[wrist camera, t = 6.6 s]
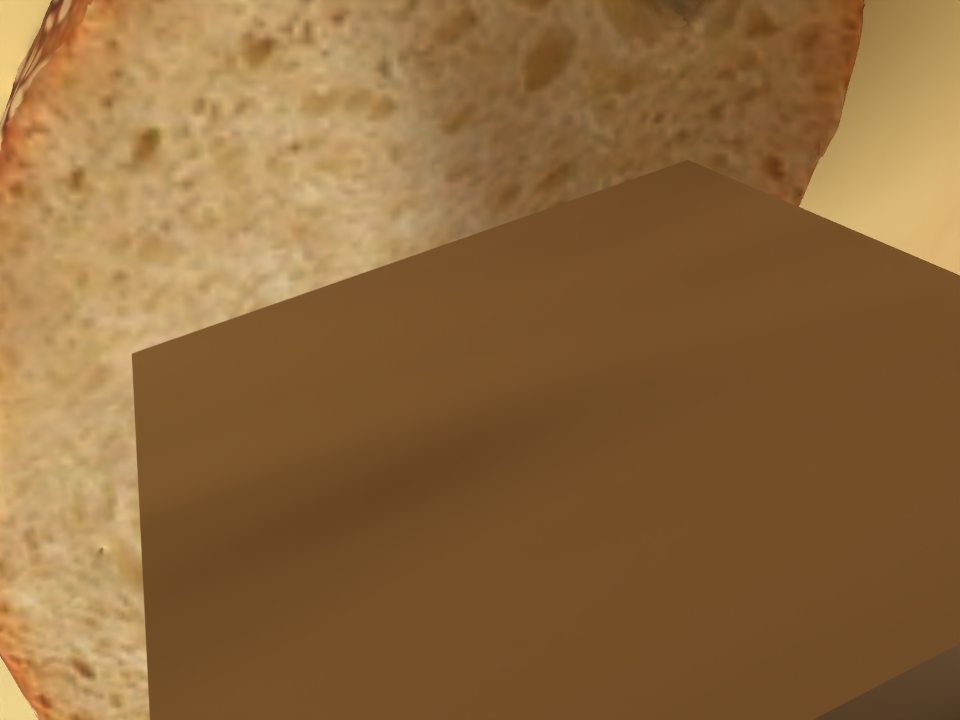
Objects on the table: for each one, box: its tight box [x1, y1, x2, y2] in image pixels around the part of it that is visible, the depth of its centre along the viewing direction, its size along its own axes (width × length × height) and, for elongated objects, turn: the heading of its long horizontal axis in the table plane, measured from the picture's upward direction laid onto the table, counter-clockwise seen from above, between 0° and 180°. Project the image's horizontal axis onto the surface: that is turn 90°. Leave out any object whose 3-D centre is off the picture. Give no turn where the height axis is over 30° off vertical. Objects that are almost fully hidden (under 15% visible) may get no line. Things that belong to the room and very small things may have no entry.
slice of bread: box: [0, 0, 866, 720], centre depth 14 cm, size 18×18×4 cm
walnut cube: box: [132, 160, 960, 720], centre depth 8 cm, size 6×6×6 cm
